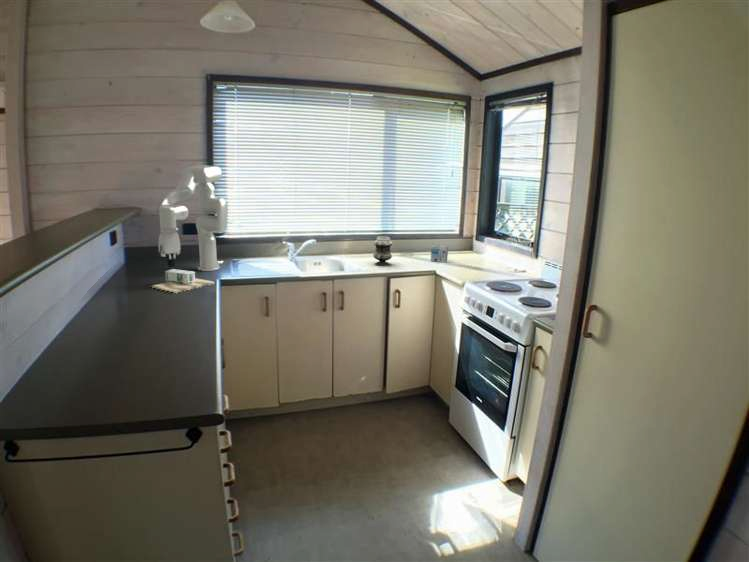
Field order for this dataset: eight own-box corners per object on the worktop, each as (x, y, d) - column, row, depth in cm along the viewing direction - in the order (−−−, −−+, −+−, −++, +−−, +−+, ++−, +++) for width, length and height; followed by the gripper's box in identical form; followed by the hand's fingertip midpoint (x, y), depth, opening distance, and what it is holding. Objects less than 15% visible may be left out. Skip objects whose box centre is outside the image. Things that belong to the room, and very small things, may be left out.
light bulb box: (430, 261, 324) (431, 246, 322) (432, 259, 331) (432, 244, 328) (445, 262, 321) (446, 247, 319) (447, 261, 328) (448, 245, 325)
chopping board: (191, 279, 258) (191, 277, 258) (214, 283, 249) (214, 281, 249) (151, 288, 238) (151, 285, 237) (175, 293, 229) (175, 291, 229)
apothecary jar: (391, 266, 305) (392, 238, 301) (372, 266, 305) (373, 238, 301) (391, 262, 316) (392, 236, 312) (373, 262, 317) (374, 235, 312)
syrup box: (164, 270, 245) (187, 273, 240) (173, 268, 250) (195, 271, 245) (165, 281, 246) (187, 284, 241) (174, 279, 252) (196, 282, 247)
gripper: (176, 229, 249) (178, 263, 253) (150, 232, 237) (153, 268, 241) (186, 230, 246) (188, 265, 250) (160, 233, 233) (163, 269, 237)
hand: (171, 266), depth 245 cm, fingers closed
